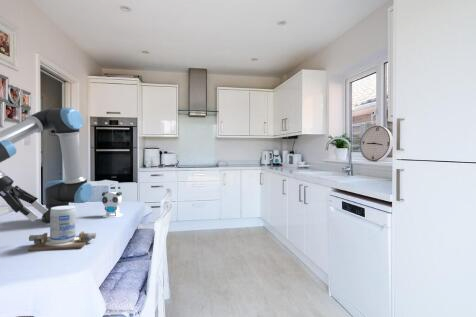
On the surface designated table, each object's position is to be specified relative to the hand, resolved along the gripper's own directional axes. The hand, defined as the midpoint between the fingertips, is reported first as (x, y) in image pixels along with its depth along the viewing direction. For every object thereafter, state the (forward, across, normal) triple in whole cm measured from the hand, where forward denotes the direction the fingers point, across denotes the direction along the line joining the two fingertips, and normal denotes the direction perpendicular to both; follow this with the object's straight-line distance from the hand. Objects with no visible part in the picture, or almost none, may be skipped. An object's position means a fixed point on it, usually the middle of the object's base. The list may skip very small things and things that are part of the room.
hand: (41, 215), depth 121 cm
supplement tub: (+14, 0, -3) cm, 14 cm away
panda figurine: (+27, -51, +8) cm, 58 cm away
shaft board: (+15, 0, -3) cm, 15 cm away
